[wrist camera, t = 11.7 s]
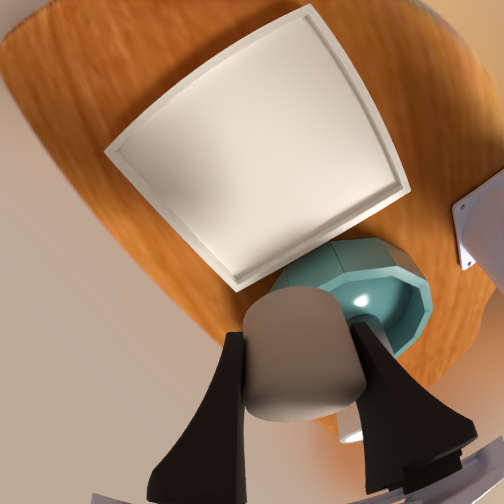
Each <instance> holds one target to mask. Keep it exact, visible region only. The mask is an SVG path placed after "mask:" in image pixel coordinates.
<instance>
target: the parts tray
mask: <svg viewBox="0 0 504 504" xmlns="http://www.w3.org/2000/svg"><path fill="white" fill-rule="evenodd" d="M103 152H104V153H105V154H106V156H107V157H108V158H109V159H110V160H111V161H112V162H113V163H114V165H115V166H116V167H117V168H118V169H119V170H120V171H121V172H122V174H123V175H124V176H125V177H126V178H127V179H128V180H129V181H130V182H131V184H132V185H133V186H134V187H135V188H136V189H137V190H138V191H139V192H140V193H141V195H142V196H143V197H144V198H145V199H146V200H147V201H148V202H149V203H150V204H151V205H152V206H153V207H154V209H155V210H156V211H157V212H158V213H159V214H160V215H161V216H162V217H163V218H164V219H165V220H166V221H167V222H168V223H169V224H170V226H171V227H172V228H173V229H174V230H175V231H176V232H177V233H178V234H179V235H180V236H181V237H182V238H183V239H184V240H185V241H186V242H187V243H188V244H189V245H190V246H191V247H192V248H193V249H194V250H195V252H196V253H197V254H198V255H199V256H200V257H201V258H202V259H203V260H204V261H205V262H206V263H207V264H208V265H209V266H210V267H211V268H212V269H213V270H214V271H215V272H216V273H217V274H218V275H219V276H220V277H221V278H222V279H223V280H224V281H225V282H226V283H227V284H228V285H229V286H230V287H231V288H232V289H233V290H234V291H235V292H238V291H240V290H242V289H244V288H245V287H247V286H249V285H251V284H253V283H255V282H256V281H258V280H260V279H262V278H264V277H265V276H267V275H269V274H271V273H273V272H274V271H276V270H278V269H280V268H281V267H283V266H285V265H287V264H289V263H290V262H292V261H294V260H296V259H297V258H299V257H301V256H303V255H304V254H306V253H308V252H310V251H311V250H313V249H315V248H317V247H318V246H320V245H322V244H324V243H325V242H327V241H329V240H330V239H332V238H334V237H336V236H337V235H339V234H341V233H342V232H344V231H346V230H348V229H349V228H351V227H353V226H354V225H356V224H358V223H359V222H361V221H363V220H364V219H366V218H368V217H369V216H371V215H373V214H374V213H376V212H378V211H379V210H381V209H383V208H384V207H386V206H388V205H389V204H391V203H393V202H394V201H396V200H398V199H399V198H401V197H402V196H404V195H406V194H407V193H409V192H411V188H410V186H409V183H408V180H407V177H406V174H405V172H404V169H403V166H402V164H401V161H400V159H399V156H398V154H397V151H396V149H395V147H394V144H393V142H392V140H391V137H390V135H389V133H388V131H387V128H386V126H385V124H384V122H383V120H382V118H381V116H380V114H379V112H378V110H377V108H376V106H375V104H374V102H373V100H372V98H371V96H370V94H369V92H368V90H367V88H366V87H365V85H364V83H363V81H362V79H361V78H360V76H359V74H358V72H357V71H356V69H355V67H354V66H353V64H352V62H351V61H350V59H349V57H348V56H347V54H346V53H345V51H344V50H343V48H342V46H341V45H340V43H339V42H338V40H337V39H336V37H335V36H334V34H333V33H332V32H331V30H330V29H329V27H328V26H327V25H326V23H325V22H324V20H323V19H322V18H321V16H320V15H319V14H318V12H317V11H316V10H315V9H314V7H313V6H312V5H311V3H310V4H308V5H305V6H303V7H301V8H299V9H296V10H294V11H292V12H290V13H288V14H286V15H284V16H282V17H280V18H278V19H276V20H274V21H272V22H270V23H268V24H267V25H265V26H263V27H261V28H259V29H257V30H256V31H254V32H252V33H250V34H249V35H247V36H245V37H244V38H242V39H240V40H239V41H237V42H235V43H234V44H232V45H231V46H229V47H228V48H226V49H224V50H223V51H221V52H220V53H218V54H217V55H215V56H214V57H212V58H211V59H210V60H208V61H207V62H205V63H204V64H202V65H201V66H200V67H198V68H197V69H195V70H194V71H193V72H191V73H190V74H189V75H187V76H186V77H185V78H184V79H182V80H181V81H180V82H178V83H177V84H176V85H175V86H173V87H172V88H171V89H170V90H168V91H167V92H166V93H165V94H164V95H162V96H161V97H160V98H159V99H158V100H156V101H155V102H154V103H153V104H152V105H151V106H150V107H148V108H147V109H146V110H145V111H144V112H143V113H142V114H141V115H140V116H139V117H137V118H136V119H135V120H134V121H133V122H132V123H131V124H130V125H129V126H128V127H127V128H126V129H125V130H124V131H123V132H122V133H121V134H120V135H119V136H118V137H117V138H116V139H115V140H114V141H113V142H112V143H111V144H110V145H109V146H108V147H107V148H106V149H105V150H104V151H103Z"/></svg>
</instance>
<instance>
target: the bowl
mask: <svg viewBox="0 0 504 504" xmlns="http://www.w3.org/2000/svg"><path fill="white" fill-rule="evenodd" d="M294 286H310V287H316V288H319V289H322V290H325V291H327V292H329V293H330V294H332V295H333V296H334V297H335V298H336V299H337V300H338V302H339V304H340V306H341V309H342V312H343V314H344V317H345V320H348V319H350V318H352V317H355V316H358V315H362V314H371V315H374V316H376V317H378V319H379V320H380V322H381V325H382V327H383V329H384V332H385V334H386V336H387V338H388V341H389V343H390V346H391V348H392V350H393V353H394V355H395V359H396V358H397V357H398V356H399V355H400V354H402V353H403V352H404V351H405V350H406V349H407V348H408V347H409V346H410V345H411V344H413V343H414V342H415V341H416V340H417V339H418V338H419V337H420V335H421V333H422V331H423V329H424V327H425V325H426V323H427V321H428V319H429V317H430V314H431V312H432V310H433V304H432V299H431V294H430V289H429V284H428V281H427V280H426V278H425V277H424V275H423V274H422V273H421V271H420V270H419V268H418V267H417V266H416V264H415V263H414V262H413V260H412V259H411V257H410V256H409V255H408V254H407V253H406V252H404V251H402V250H400V249H398V248H397V247H395V246H393V245H391V244H389V243H387V242H386V241H384V240H382V239H380V238H378V237H373V238H362V239H351V240H339V241H330V242H328V243H326V244H325V245H323V246H321V247H319V248H318V249H316V250H314V251H312V252H311V253H309V254H307V255H305V256H304V257H302V258H300V259H298V260H297V261H295V262H293V263H291V264H289V265H288V266H286V267H285V268H284V269H283V271H282V272H281V274H280V275H279V277H278V278H277V280H276V281H275V283H274V284H273V286H272V287H271V289H270V290H269V292H268V293H267V294H269V293H271V292H273V291H276V290H279V289H283V288H287V287H294Z"/></svg>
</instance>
